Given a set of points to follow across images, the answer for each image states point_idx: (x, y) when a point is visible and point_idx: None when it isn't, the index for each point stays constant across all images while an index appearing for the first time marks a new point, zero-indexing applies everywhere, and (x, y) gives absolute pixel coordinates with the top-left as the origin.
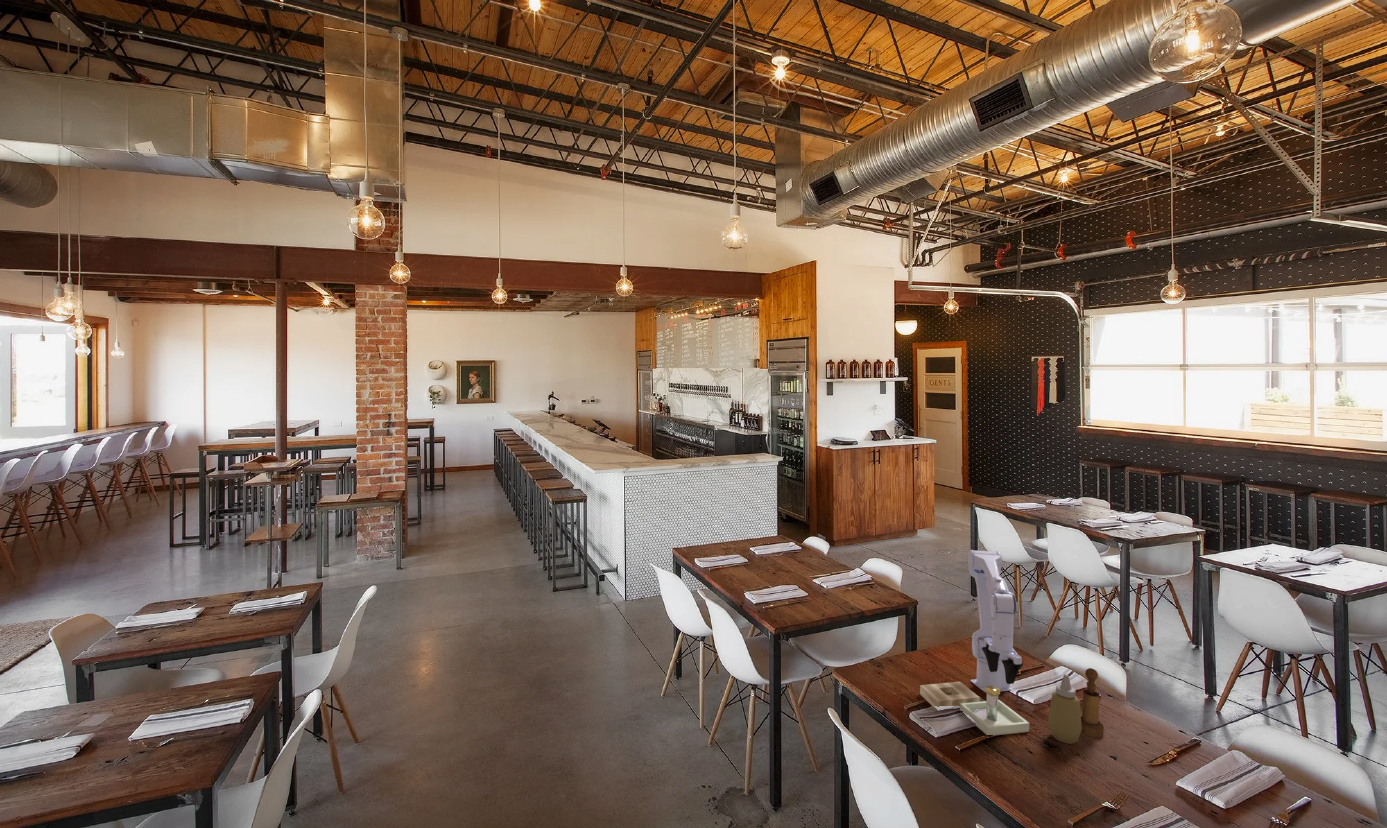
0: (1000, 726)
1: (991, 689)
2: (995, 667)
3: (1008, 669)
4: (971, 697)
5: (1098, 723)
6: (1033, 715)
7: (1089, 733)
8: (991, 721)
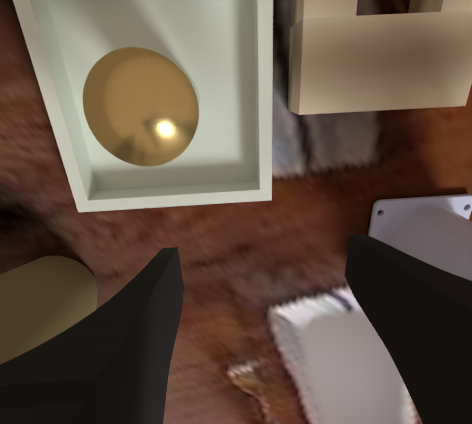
0: (31, 57)
1: (134, 98)
2: (360, 286)
3: (54, 340)
4: (306, 64)
5: None
6: (201, 271)
7: None
8: None
